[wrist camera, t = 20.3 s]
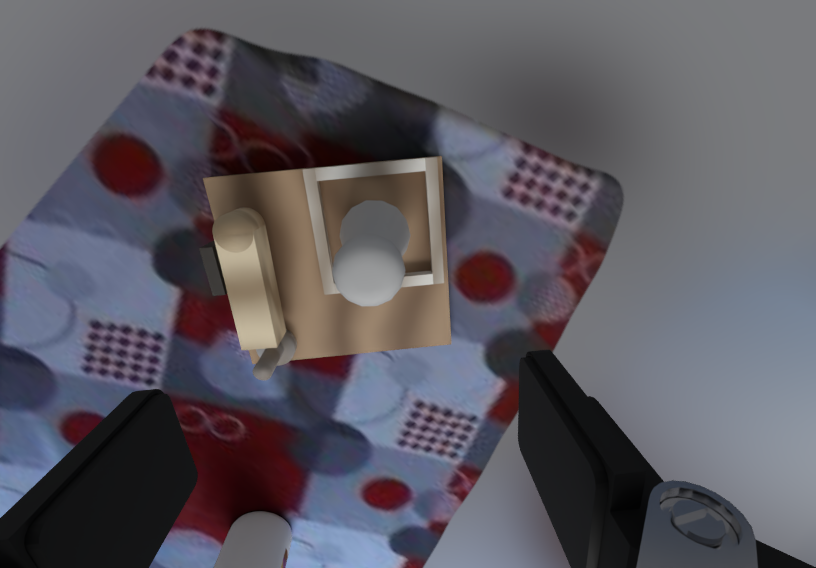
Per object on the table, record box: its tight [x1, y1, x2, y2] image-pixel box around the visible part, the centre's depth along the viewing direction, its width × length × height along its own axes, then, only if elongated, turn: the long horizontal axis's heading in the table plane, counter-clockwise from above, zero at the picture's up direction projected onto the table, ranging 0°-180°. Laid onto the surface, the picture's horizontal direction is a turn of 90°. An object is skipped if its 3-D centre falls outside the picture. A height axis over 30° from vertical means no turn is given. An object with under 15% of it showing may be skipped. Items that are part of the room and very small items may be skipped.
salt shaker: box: [332, 200, 411, 306], centre depth 27 cm, size 6×6×13 cm
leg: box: [213, 208, 286, 350], centre depth 31 cm, size 12×3×3 cm, turn 3°
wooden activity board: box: [199, 156, 451, 380], centre depth 33 cm, size 20×18×6 cm
